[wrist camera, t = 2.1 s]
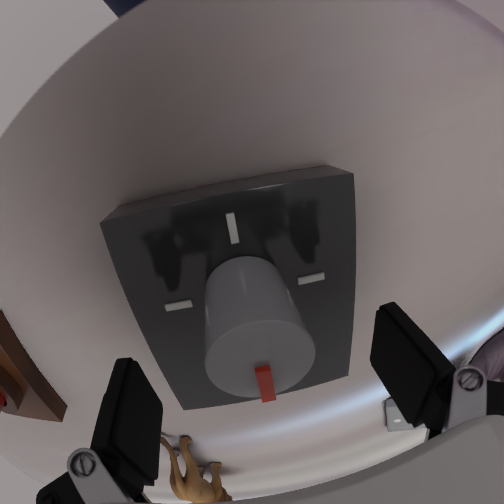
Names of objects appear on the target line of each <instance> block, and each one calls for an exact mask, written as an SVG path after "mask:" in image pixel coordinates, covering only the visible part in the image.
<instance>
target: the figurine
mask: <svg viewBox="0 0 504 504" xmlns="http://www.w3.org/2000/svg"><path fill="white" fill-rule="evenodd" d="M469 365H474V366H477V367H479V368H480V369H481V370H482V371H483V372H484V374H485V375H486V380H491V381H492V380H496V379H500V382H504V330H502V331H501V332H500V333H499V334H497V335H496V336H495V337H493V338H492V339H490V340H489V341H488V342H487V343H486V344H485V345H484V346H482V348H481V349H480V350H479V351H478V352H477V354H476V355H475V357H474V358H473V360H472V361H471V362H470V364H469Z"/></svg>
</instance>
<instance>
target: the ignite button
mask: <svg viewBox="0 0 504 504" xmlns="http://www.w3.org/2000/svg"><path fill="white" fill-rule="evenodd" d="M5 401H6V399H5V397H4V396H3V395H2V394H1V392H0V412H1V410H2V408H3V406H4V403H5Z"/></svg>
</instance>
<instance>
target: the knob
mask: <svg viewBox="0 0 504 504" xmlns="http://www.w3.org/2000/svg"><path fill="white" fill-rule="evenodd" d="M204 357H205V370H206V373H207V375H208V377H209V379H210V380H211V381H212V383H213V384H214V385H215V386H216V387H218V388H219V389H221V390H223V391H224V392H226V393H229V394H232V395H235V396H240V397H261V399H262V402H263V403H264V402H269V401H273V400H276V395H275V394H276V393H279V392H282V391H284V390H286V389H288V388H290V387H292V386H293V385H295V384H296V383H298V382H299V381H300V380H301V379H302V378H303V377H304V376H305V375H306V374H307V373H308V371H309V370H310V368H311V367H312V364H313V362H314V358H315V344H314V341H313V339H312V337H311V335H310V333H309V331H308V328H307V326H306V324H305V322H304V320H303V318H302V316H301V314H300V312H299V310H298V307H297V305H296V303H295V301H294V299H293V297H292V295H291V293H290V291H289V289H288V287H287V285H286V283H285V281H284V278H283V276H282V275H281V273H280V271H279V270H278V269H277V268H276V267H275V266H274V265H273V264H271V263H270V262H268V261H266V260H264V259H261V258H258V257H252V256H243V257H237V258H233V259H230V260H228V261H226V262H224V263H222V264H221V265H220V266H218V267H217V268H216V269H215V270H214V271H213V272H212V273H211V275H210V276H209V278H208V280H207V282H206V285H205V292H204Z"/></svg>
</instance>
